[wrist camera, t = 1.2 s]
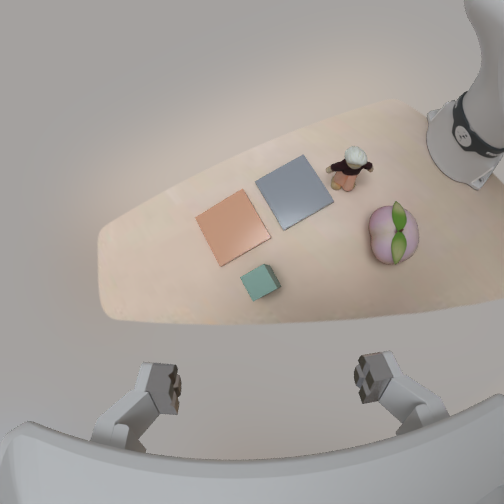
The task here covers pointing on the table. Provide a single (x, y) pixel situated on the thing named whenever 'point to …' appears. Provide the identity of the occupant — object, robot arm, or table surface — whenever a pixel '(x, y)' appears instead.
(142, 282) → the table surface
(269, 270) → the green wooden block
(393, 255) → the decorative fruit
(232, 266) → the table surface
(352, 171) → the grandmother figurine
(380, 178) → the table surface
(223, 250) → the terracotta tile
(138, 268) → the table surface
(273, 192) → the slate tile
